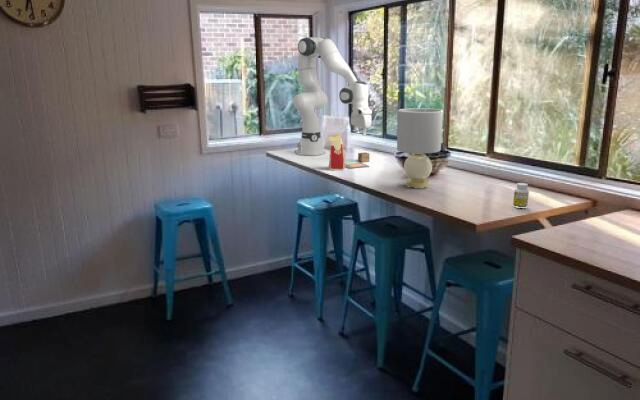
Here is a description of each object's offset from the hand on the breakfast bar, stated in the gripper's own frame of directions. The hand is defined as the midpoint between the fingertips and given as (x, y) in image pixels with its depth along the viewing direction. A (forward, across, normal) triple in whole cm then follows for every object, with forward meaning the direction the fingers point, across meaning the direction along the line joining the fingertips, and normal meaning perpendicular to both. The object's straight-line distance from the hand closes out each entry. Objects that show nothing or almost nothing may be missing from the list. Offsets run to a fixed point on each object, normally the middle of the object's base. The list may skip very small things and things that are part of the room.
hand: (360, 134), depth 294 cm
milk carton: (+16, +13, -21) cm, 29 cm away
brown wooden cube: (+16, 0, +2) cm, 16 cm away
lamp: (+17, +65, -1) cm, 67 cm away
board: (+16, +8, -8) cm, 20 cm away
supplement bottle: (+17, +113, +17) cm, 115 cm away
